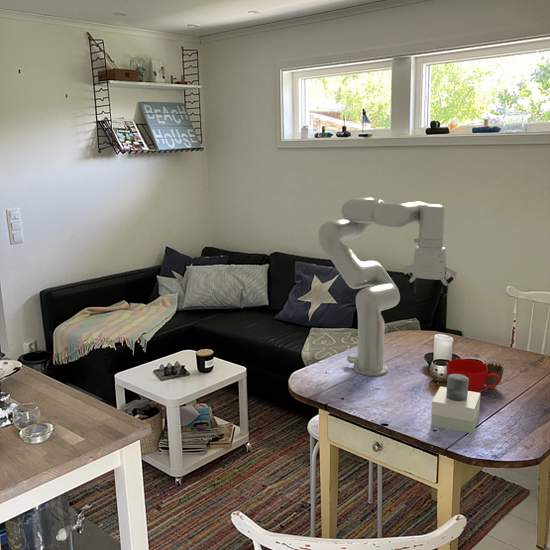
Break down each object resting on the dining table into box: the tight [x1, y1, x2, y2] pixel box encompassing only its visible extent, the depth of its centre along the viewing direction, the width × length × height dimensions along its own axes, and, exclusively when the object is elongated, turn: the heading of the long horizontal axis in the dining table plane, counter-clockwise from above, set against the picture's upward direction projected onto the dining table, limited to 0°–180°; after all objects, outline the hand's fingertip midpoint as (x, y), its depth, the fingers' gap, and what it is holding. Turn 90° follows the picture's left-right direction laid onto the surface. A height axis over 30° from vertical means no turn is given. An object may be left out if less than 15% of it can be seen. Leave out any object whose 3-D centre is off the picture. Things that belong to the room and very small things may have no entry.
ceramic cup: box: [446, 358, 501, 394], centre depth 197 cm, size 13×17×10 cm
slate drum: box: [446, 374, 469, 401], centre depth 178 cm, size 6×6×6 cm
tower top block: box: [431, 386, 481, 422], centre depth 179 cm, size 12×12×4 cm
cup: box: [484, 362, 505, 391], centre depth 202 cm, size 8×7×8 cm
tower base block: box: [430, 405, 481, 435], centre depth 180 cm, size 12×12×4 cm
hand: (428, 295), depth 195 cm, fingers open, 9 cm apart
